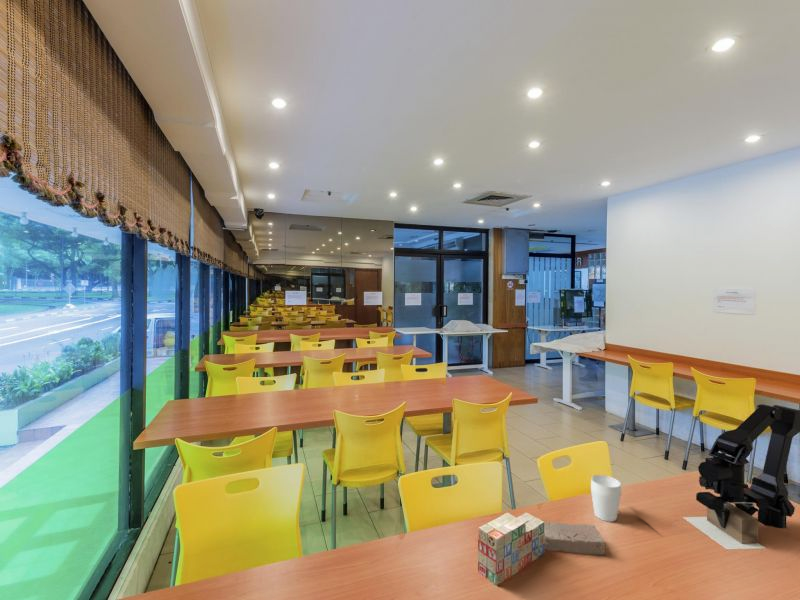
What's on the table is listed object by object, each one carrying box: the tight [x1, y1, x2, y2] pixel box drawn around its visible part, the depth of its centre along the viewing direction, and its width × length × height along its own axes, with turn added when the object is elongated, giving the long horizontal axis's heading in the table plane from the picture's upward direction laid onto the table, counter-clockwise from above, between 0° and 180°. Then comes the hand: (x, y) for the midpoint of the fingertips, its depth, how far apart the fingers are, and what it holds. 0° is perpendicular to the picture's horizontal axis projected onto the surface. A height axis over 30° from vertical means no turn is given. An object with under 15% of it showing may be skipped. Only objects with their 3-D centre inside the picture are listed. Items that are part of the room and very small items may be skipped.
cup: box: [590, 474, 622, 523], centre depth 129 cm, size 9×9×12 cm
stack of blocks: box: [477, 512, 545, 586], centre depth 106 cm, size 21×6×12 cm, turn 126°
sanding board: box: [682, 516, 766, 550], centre depth 118 cm, size 12×16×2 cm
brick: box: [543, 521, 606, 556], centre depth 114 cm, size 17×8×5 cm, turn 82°
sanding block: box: [706, 503, 759, 543], centre depth 119 cm, size 5×12×7 cm, turn 3°
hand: (731, 527), depth 119 cm, fingers closed on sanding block, 5 cm apart
